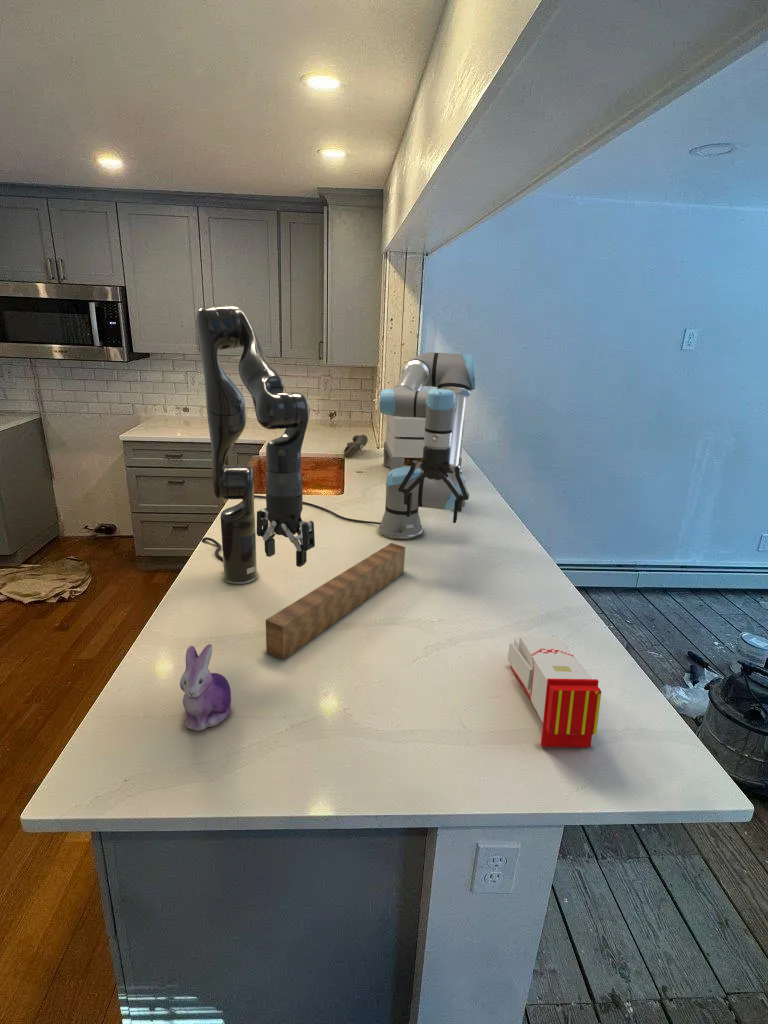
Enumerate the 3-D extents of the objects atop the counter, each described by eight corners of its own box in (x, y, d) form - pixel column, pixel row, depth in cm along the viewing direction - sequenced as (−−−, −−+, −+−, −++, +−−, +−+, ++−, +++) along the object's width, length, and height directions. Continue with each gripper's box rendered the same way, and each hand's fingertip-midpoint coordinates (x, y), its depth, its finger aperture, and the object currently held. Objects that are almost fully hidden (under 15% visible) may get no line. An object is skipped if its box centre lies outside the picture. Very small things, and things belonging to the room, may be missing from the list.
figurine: (187, 740, 102) (180, 669, 97) (178, 706, 110) (171, 639, 105) (239, 725, 106) (236, 656, 101) (227, 693, 115) (223, 628, 109)
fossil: (343, 440, 315) (365, 425, 310) (354, 454, 317) (375, 439, 312) (337, 454, 295) (359, 438, 290) (348, 468, 298) (371, 453, 293)
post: (389, 568, 173) (391, 542, 170) (403, 572, 171) (405, 546, 168) (266, 652, 129) (265, 619, 126) (283, 659, 126) (282, 626, 124)
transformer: (382, 463, 289) (386, 382, 275) (445, 464, 293) (451, 384, 279) (390, 482, 257) (394, 392, 243) (460, 483, 261) (468, 394, 247)
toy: (555, 619, 129) (611, 687, 100) (550, 674, 132) (602, 754, 102) (502, 618, 128) (542, 685, 99) (498, 673, 131) (536, 754, 102)
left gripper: (246, 487, 118) (249, 558, 124) (299, 501, 112) (300, 575, 117) (270, 479, 124) (272, 547, 130) (322, 491, 118) (322, 562, 123)
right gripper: (390, 444, 156) (386, 516, 164) (480, 454, 151) (473, 528, 158) (396, 439, 163) (393, 508, 170) (483, 448, 157) (476, 519, 165)
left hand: (285, 560), depth 124 cm, fingers open, 8 cm apart
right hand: (431, 518), depth 164 cm, fingers open, 13 cm apart
